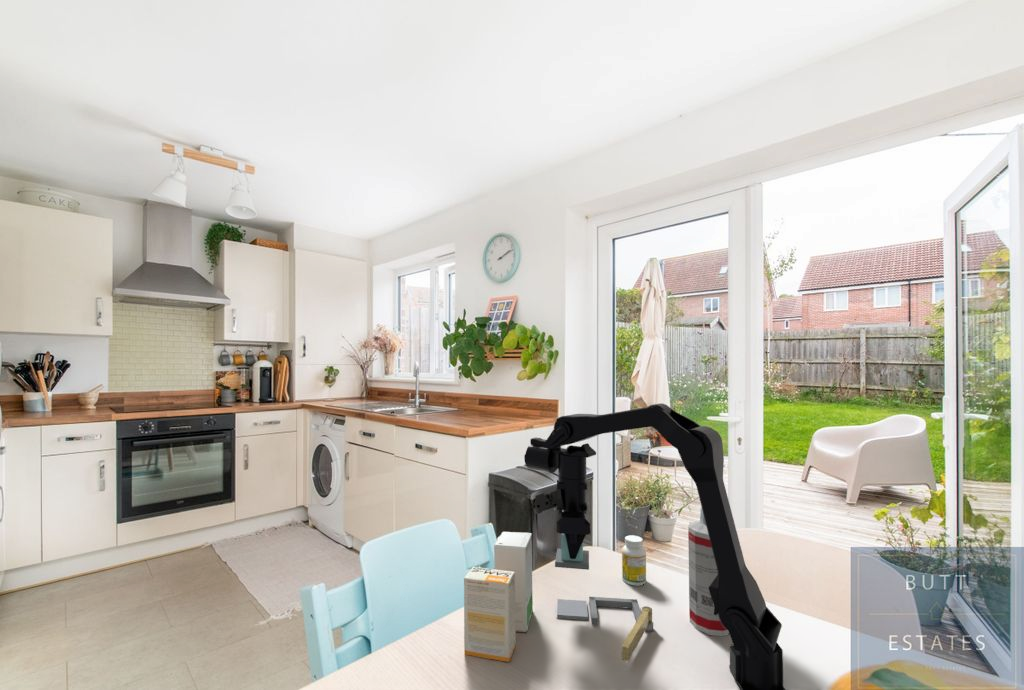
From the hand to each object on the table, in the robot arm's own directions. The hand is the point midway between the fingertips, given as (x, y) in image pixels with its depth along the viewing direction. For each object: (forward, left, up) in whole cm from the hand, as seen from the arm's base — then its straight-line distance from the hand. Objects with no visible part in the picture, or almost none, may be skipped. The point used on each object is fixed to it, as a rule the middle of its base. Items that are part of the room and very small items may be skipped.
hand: (572, 553), depth 91 cm
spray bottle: (-26, +2, -12) cm, 29 cm away
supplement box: (+15, +15, -12) cm, 24 cm away
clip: (-11, +10, -10) cm, 18 cm away
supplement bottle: (-14, -14, -12) cm, 23 cm away
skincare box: (+12, +5, -12) cm, 17 cm away
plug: (0, 0, -2) cm, 2 cm away
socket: (-8, +1, -11) cm, 14 cm away
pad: (0, 0, -11) cm, 11 cm away
